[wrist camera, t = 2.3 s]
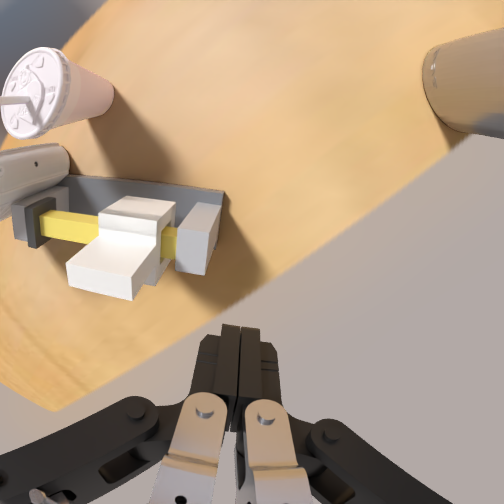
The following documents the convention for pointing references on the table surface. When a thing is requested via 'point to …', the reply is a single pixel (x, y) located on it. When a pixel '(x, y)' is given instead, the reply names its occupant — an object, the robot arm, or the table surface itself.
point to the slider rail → (108, 192)
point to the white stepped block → (124, 248)
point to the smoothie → (51, 94)
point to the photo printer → (30, 172)
